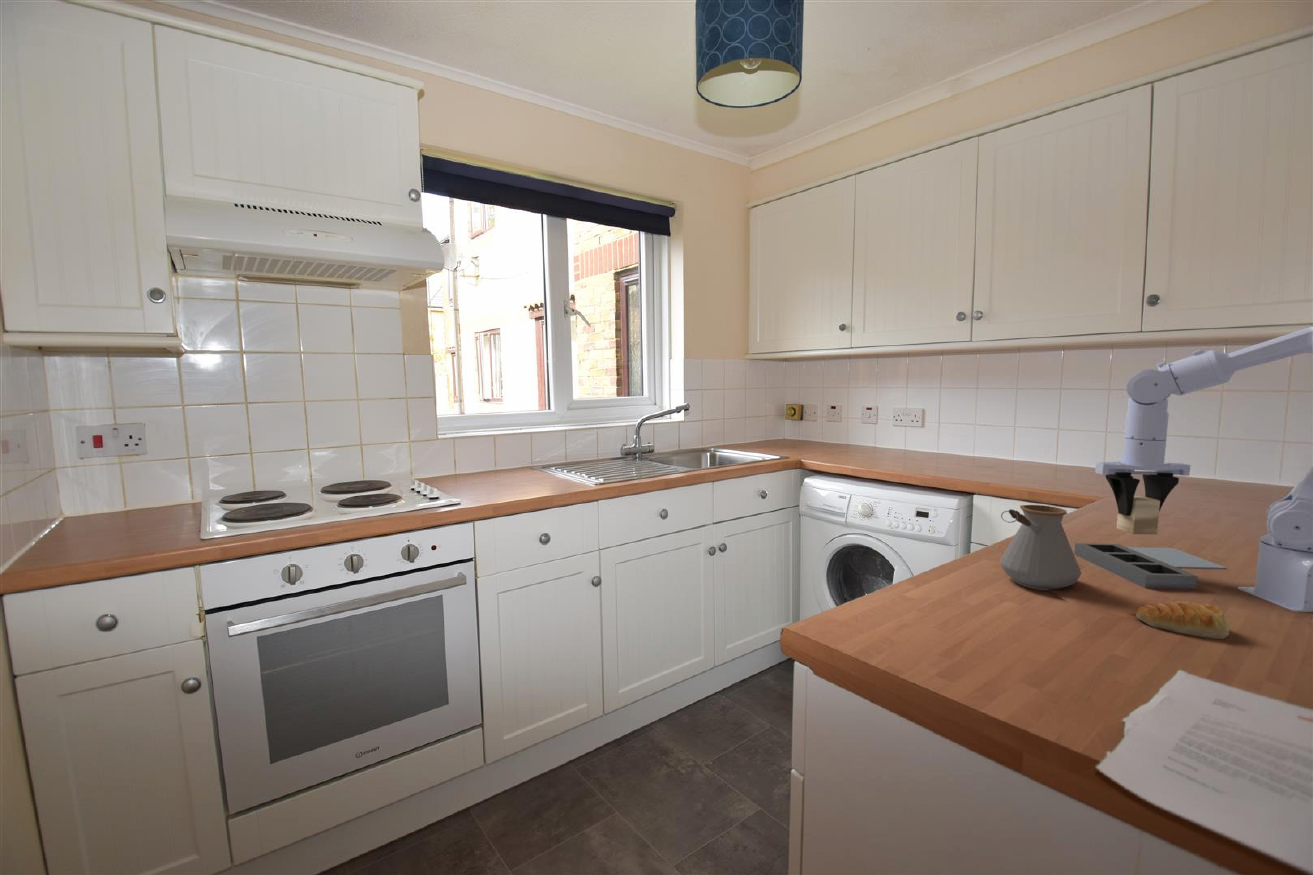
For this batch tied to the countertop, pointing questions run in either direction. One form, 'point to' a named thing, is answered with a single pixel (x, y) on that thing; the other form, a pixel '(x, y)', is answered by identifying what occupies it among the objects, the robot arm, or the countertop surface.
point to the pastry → (1186, 618)
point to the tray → (1136, 566)
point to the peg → (1141, 517)
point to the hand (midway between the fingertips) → (1137, 514)
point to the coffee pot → (1040, 550)
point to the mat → (1177, 558)
